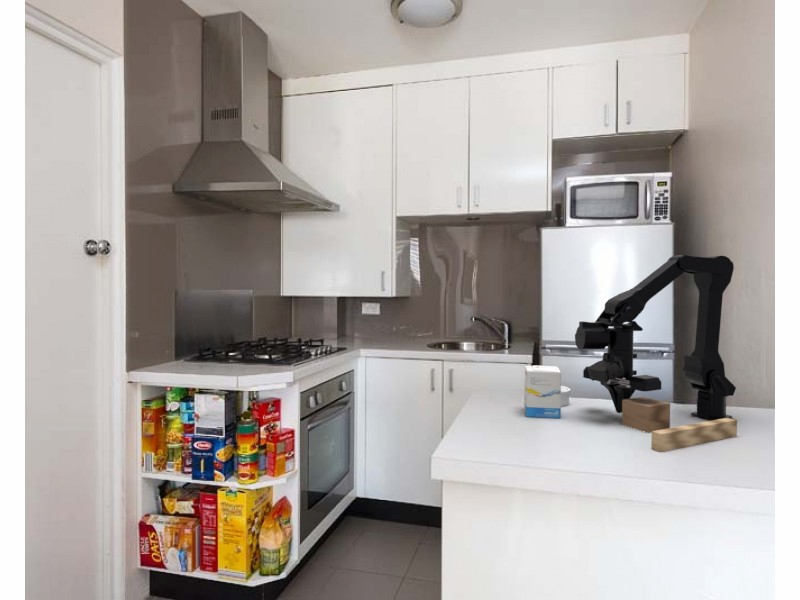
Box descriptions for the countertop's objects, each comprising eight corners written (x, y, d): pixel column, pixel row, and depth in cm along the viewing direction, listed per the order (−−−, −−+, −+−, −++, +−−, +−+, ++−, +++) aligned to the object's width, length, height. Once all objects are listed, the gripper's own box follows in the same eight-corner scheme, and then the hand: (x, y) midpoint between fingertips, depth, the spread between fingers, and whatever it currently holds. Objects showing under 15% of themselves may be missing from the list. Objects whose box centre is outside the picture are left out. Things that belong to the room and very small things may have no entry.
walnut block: (643, 421, 116) (643, 396, 116) (669, 429, 110) (670, 403, 110) (622, 425, 114) (622, 399, 113) (648, 433, 107) (648, 406, 107)
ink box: (561, 419, 118) (561, 371, 118) (525, 417, 120) (526, 370, 120) (557, 409, 127) (557, 365, 126) (523, 408, 128) (524, 364, 128)
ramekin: (571, 408, 128) (571, 392, 128) (536, 406, 131) (536, 390, 131) (569, 400, 137) (569, 385, 137) (536, 398, 139) (536, 383, 139)
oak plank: (727, 433, 107) (727, 417, 107) (736, 436, 105) (737, 420, 105) (651, 448, 97) (651, 431, 97) (660, 451, 95) (660, 434, 95)
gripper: (567, 346, 123) (566, 407, 124) (628, 356, 106) (627, 426, 107) (599, 344, 128) (599, 402, 128) (663, 353, 111) (662, 421, 111)
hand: (619, 412), depth 118 cm, fingers closed
